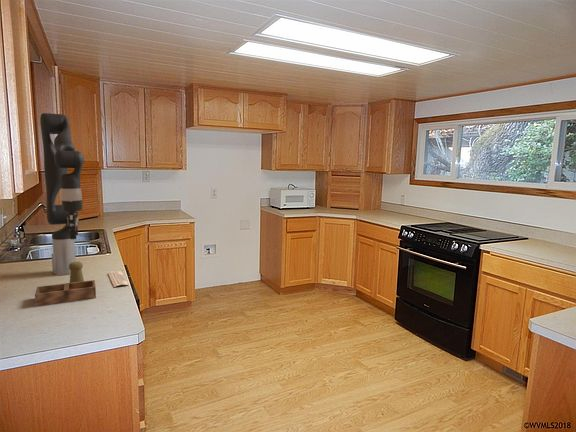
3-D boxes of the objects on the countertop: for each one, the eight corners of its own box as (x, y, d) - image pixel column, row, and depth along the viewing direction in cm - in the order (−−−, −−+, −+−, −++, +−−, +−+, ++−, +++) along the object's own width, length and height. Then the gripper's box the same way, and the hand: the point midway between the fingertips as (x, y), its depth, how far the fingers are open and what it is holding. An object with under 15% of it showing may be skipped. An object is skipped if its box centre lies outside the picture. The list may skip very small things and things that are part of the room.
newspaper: (107, 275, 188) (107, 271, 188) (123, 273, 192) (123, 270, 192) (114, 289, 168) (114, 285, 168) (131, 287, 172) (131, 283, 172)
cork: (81, 283, 173) (79, 259, 172) (87, 286, 169) (86, 262, 168) (66, 286, 168) (65, 262, 167) (72, 290, 165) (71, 264, 163)
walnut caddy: (35, 306, 146) (34, 294, 146) (38, 297, 155) (37, 286, 154) (96, 297, 156) (95, 287, 155) (94, 290, 165) (94, 280, 164)
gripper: (63, 197, 167) (66, 234, 169) (59, 201, 154) (62, 241, 156) (83, 197, 170) (85, 233, 172) (80, 200, 157) (83, 239, 160)
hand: (74, 237), depth 164 cm, fingers open, 8 cm apart
